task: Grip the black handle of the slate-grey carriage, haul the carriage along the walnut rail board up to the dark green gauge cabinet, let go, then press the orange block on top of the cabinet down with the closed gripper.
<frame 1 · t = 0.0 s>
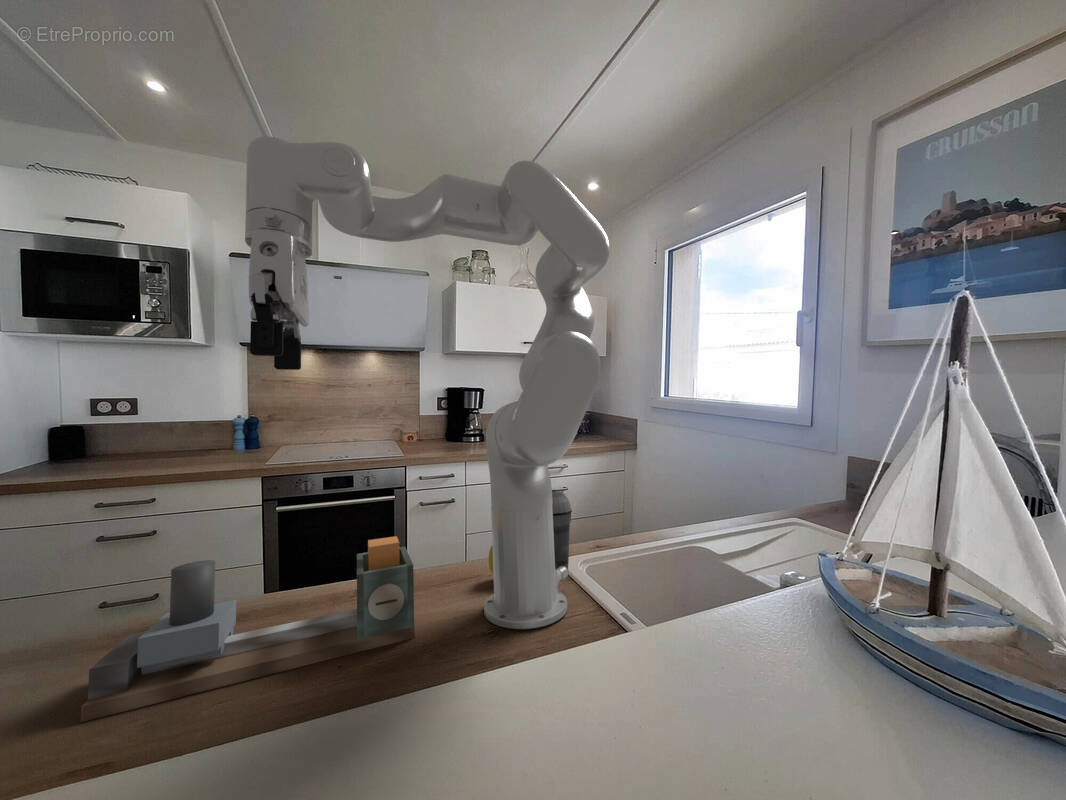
hand: (278, 362, 50), 37 cm above the counter, tool pointing down, fingers open, 9 cm apart
carriage: (192, 608, 46), point 7 cm above the counter, slide at 0.0 cm
lemon: (504, 582, 70), on the counter
rail base: (280, 652, 49), on the counter
orange block: (383, 555, 55), point 10 cm above the counter, slide at 0.0 cm
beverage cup: (556, 574, 73), on the counter
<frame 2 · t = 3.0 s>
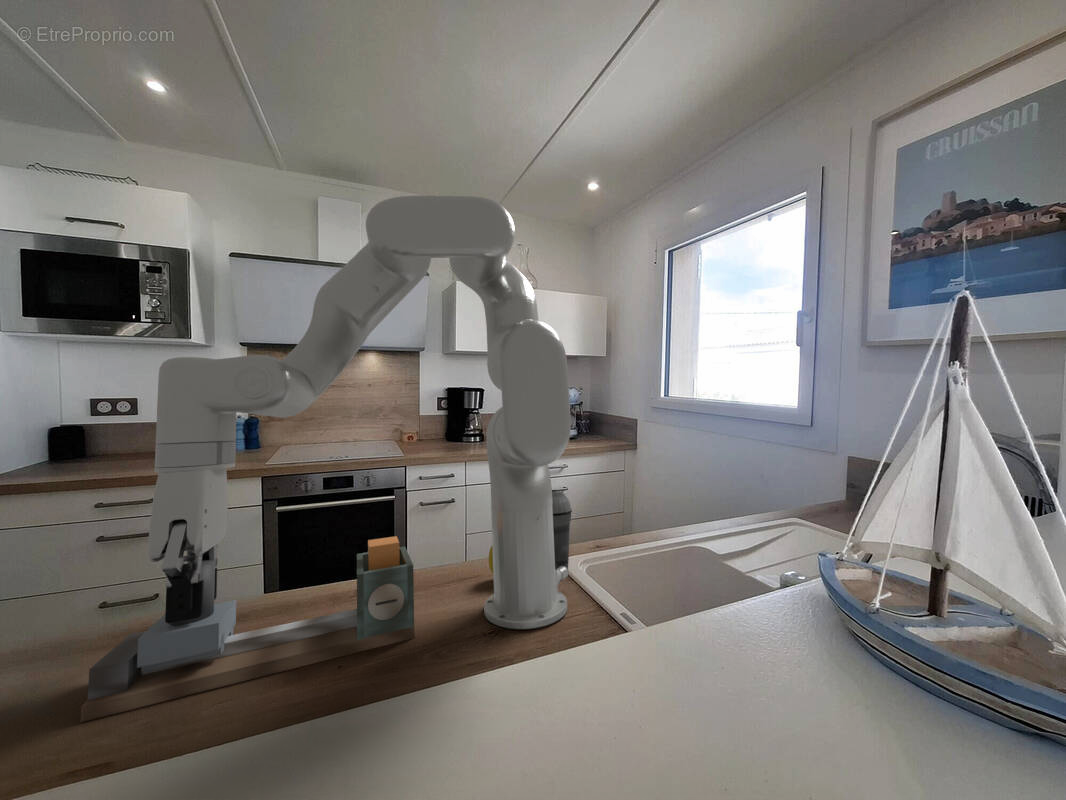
hand: (192, 609, 46), 7 cm above the counter, tool pointing down, fingers closed on carriage, 4 cm apart
carriage: (192, 608, 46), point 7 cm above the counter, slide at 0.0 cm, touching gripper
everything else where it was.
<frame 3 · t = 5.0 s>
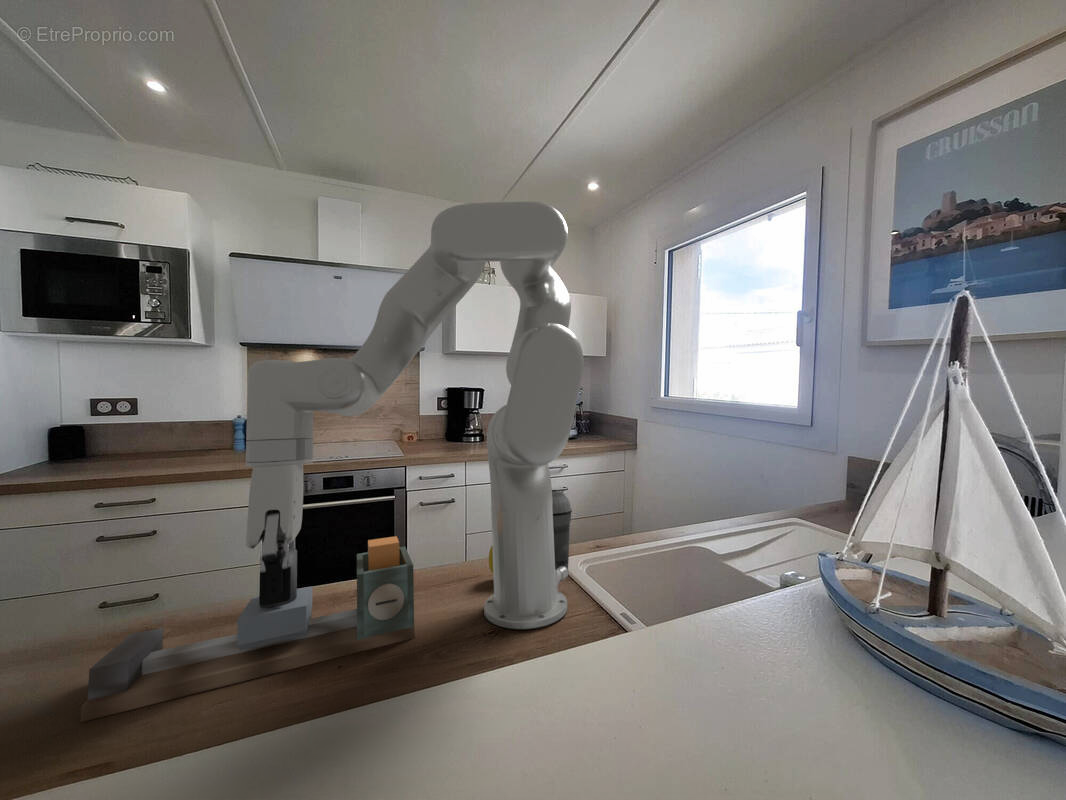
hand: (278, 593, 50), 7 cm above the counter, tool pointing down, fingers closed on carriage, 4 cm apart
carriage: (278, 593, 50), point 7 cm above the counter, slide at 8.8 cm, touching gripper
everything else where it was.
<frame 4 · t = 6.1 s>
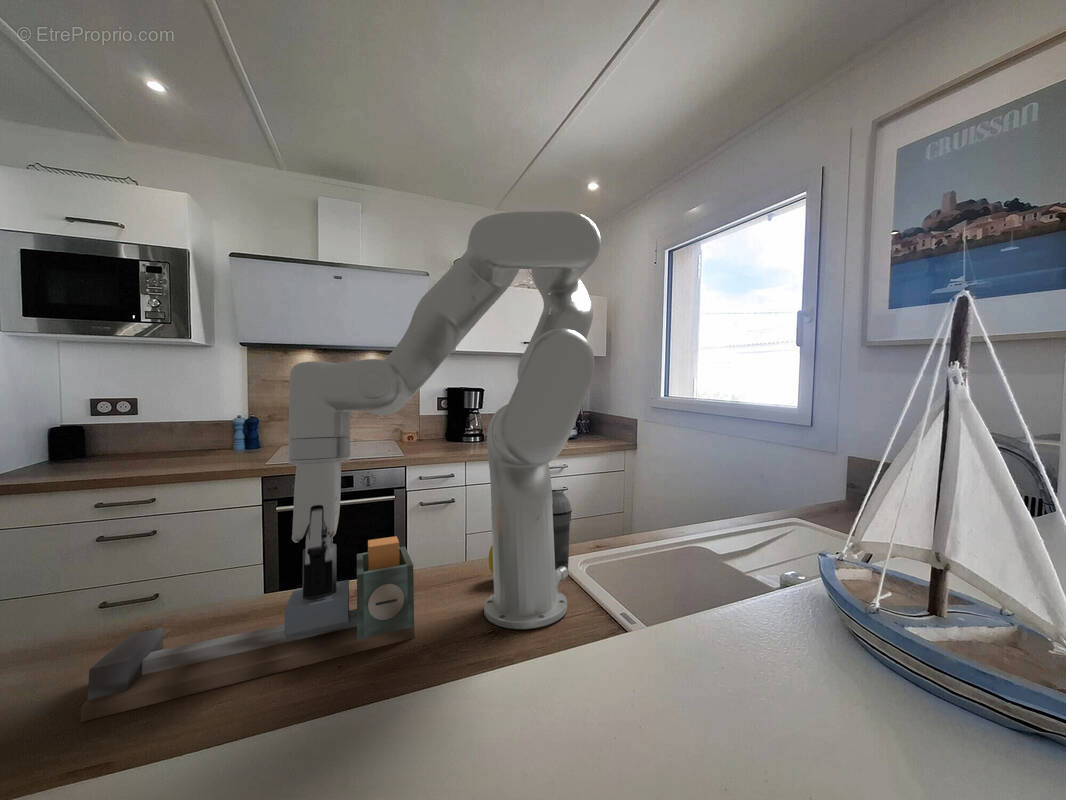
hand: (319, 586, 52), 7 cm above the counter, tool pointing down, fingers closed on carriage, 4 cm apart
carriage: (319, 585, 52), point 7 cm above the counter, slide at 13.4 cm, touching gripper
everything else where it was.
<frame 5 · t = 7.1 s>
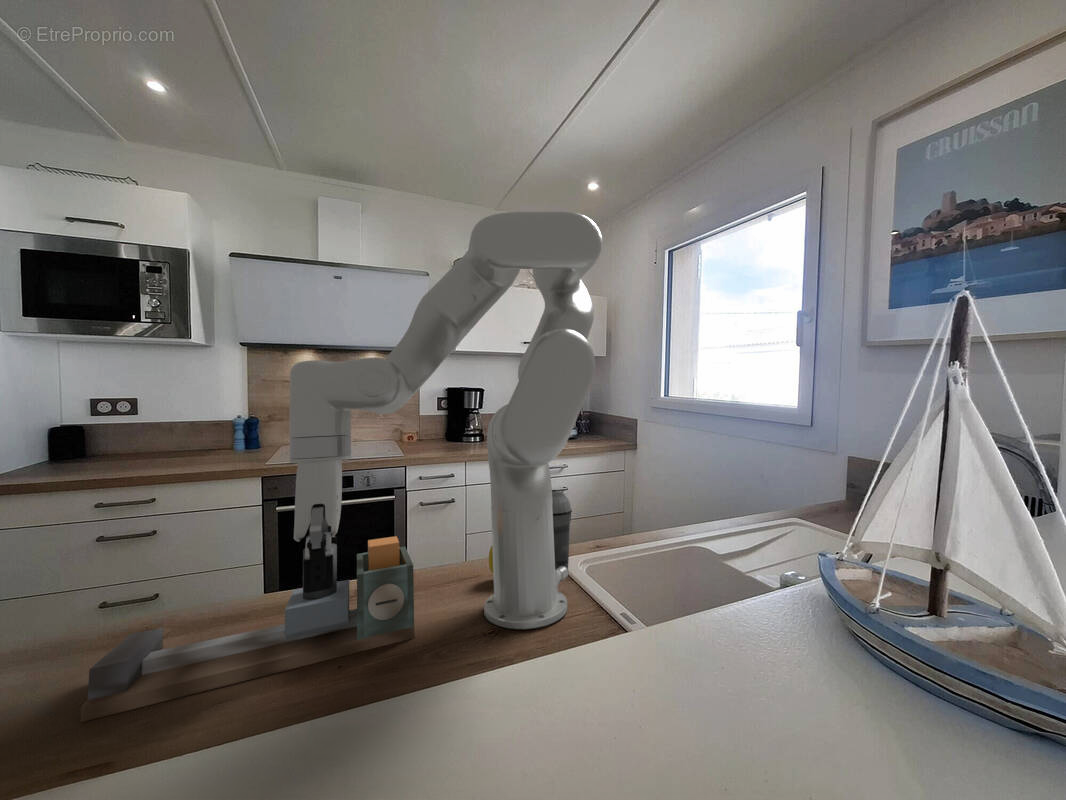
hand: (321, 577, 52), 8 cm above the counter, tool pointing down, fingers open, 9 cm apart
carriage: (320, 585, 52), point 7 cm above the counter, slide at 13.5 cm
everything else where it was.
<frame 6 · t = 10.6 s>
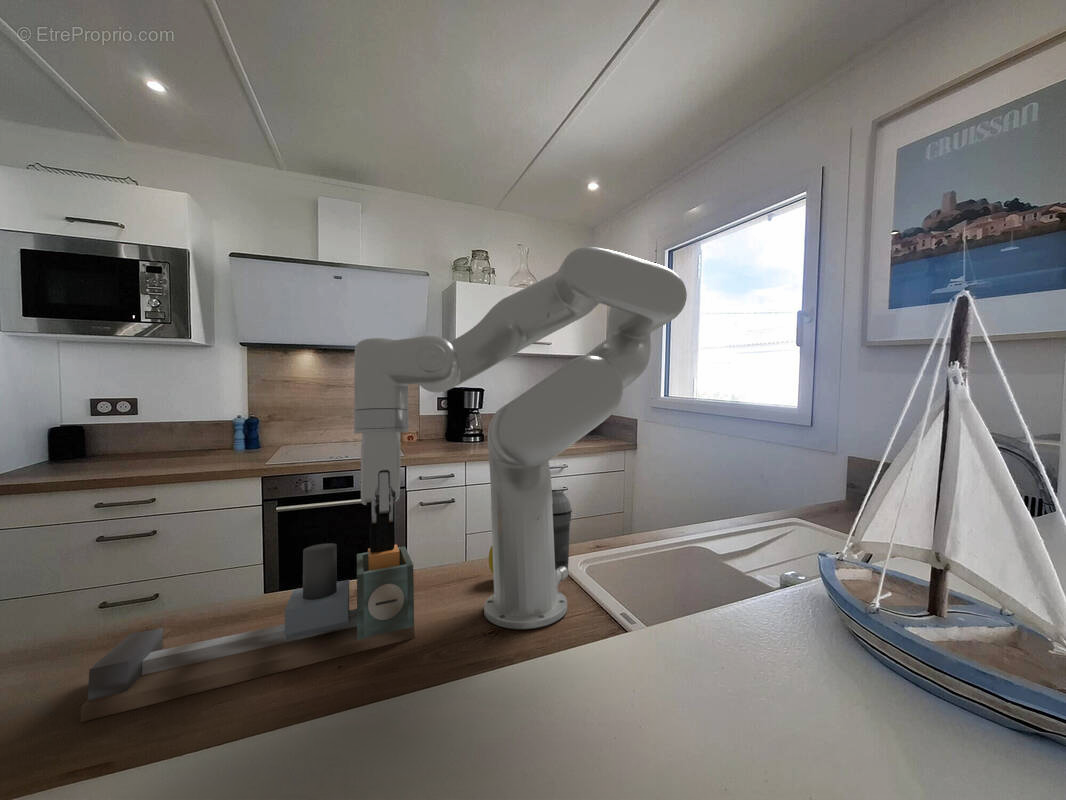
hand: (382, 549, 55), 11 cm above the counter, tool pointing down, fingers closed
orange block: (383, 564, 55), point 9 cm above the counter, slide at 1.2 cm, touching gripper
everything else where it was.
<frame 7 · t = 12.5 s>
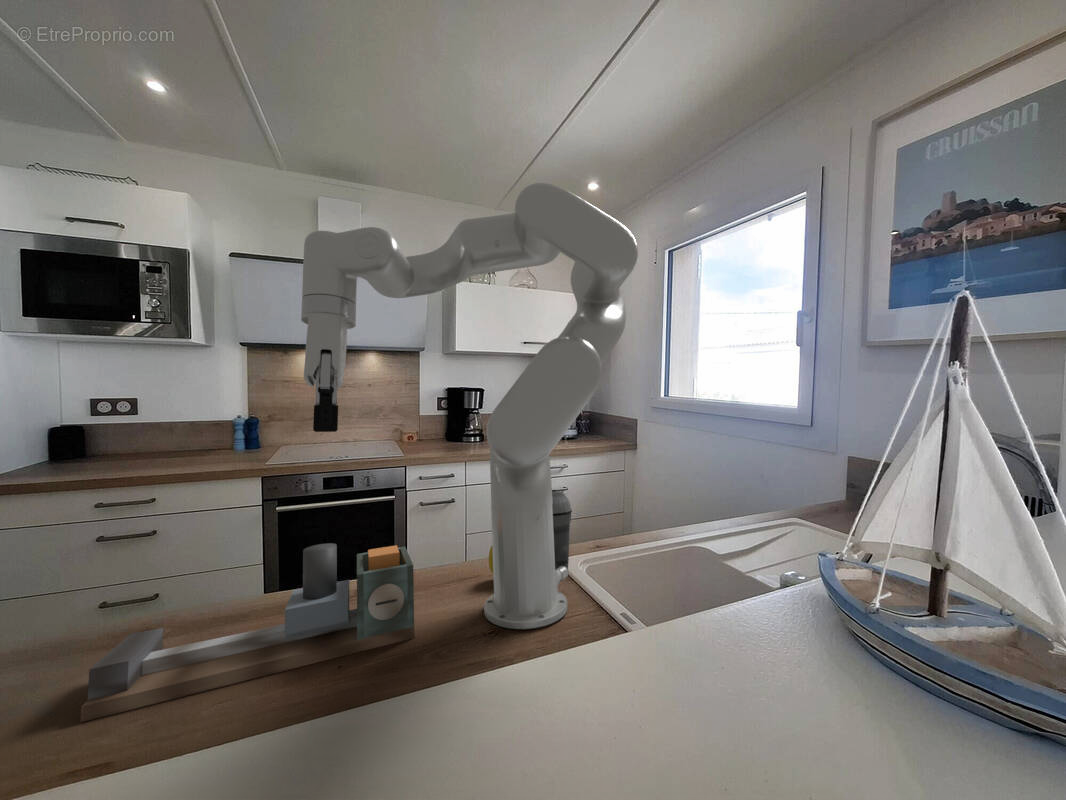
hand: (325, 431, 58), 28 cm above the counter, tool pointing down, fingers closed
orange block: (383, 565, 55), point 9 cm above the counter, slide at 1.4 cm
everything else where it was.
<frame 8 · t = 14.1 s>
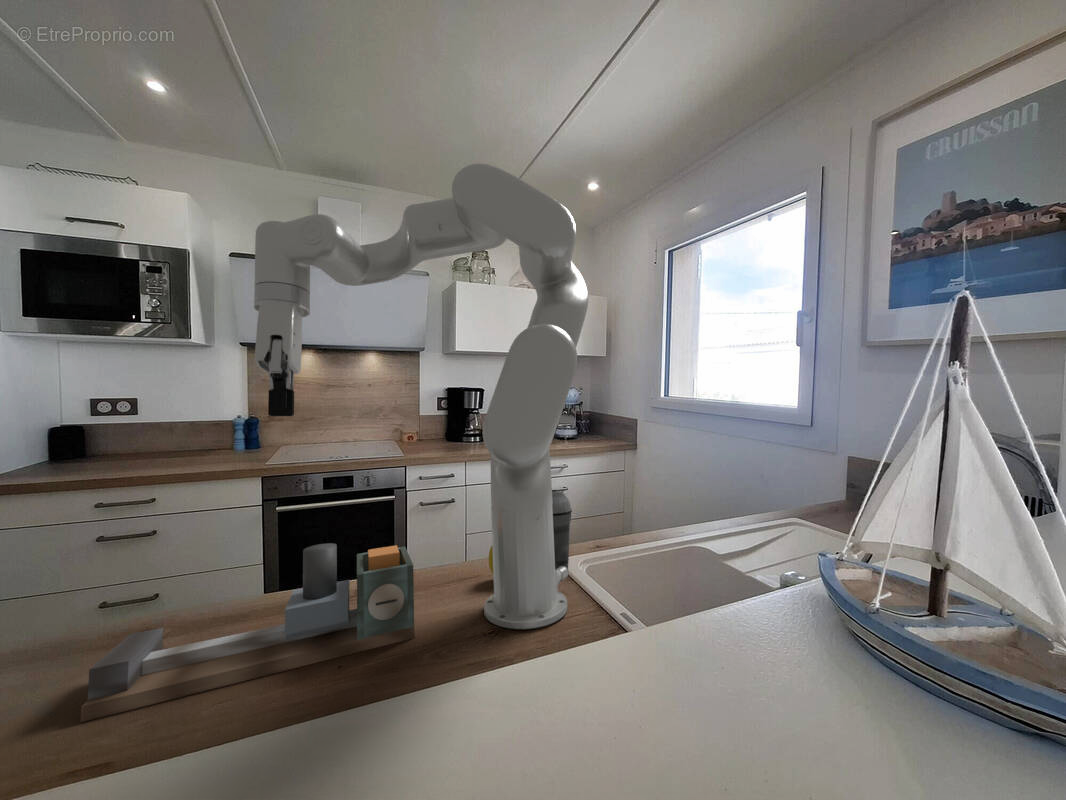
hand: (281, 415, 60), 31 cm above the counter, tool pointing down, fingers closed
nothing on the counter moved.
at the end: carriage slide at 13.5 cm; orange block slide at 1.4 cm; the gripper is holding nothing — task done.
